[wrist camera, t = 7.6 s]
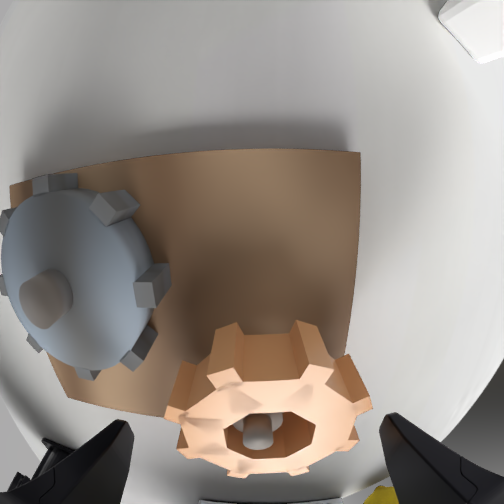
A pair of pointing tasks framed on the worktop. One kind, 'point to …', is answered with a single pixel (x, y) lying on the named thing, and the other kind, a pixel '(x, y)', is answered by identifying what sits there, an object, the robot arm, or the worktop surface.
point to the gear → (267, 400)
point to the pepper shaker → (476, 26)
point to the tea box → (329, 503)
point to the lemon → (382, 496)
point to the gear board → (179, 265)
